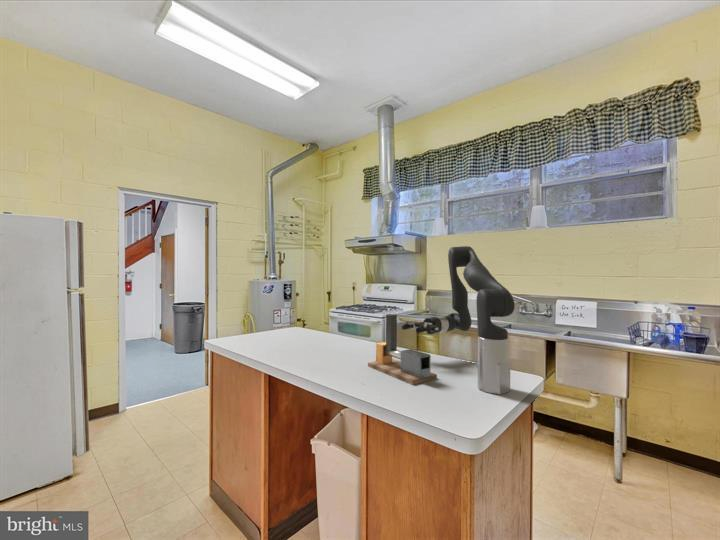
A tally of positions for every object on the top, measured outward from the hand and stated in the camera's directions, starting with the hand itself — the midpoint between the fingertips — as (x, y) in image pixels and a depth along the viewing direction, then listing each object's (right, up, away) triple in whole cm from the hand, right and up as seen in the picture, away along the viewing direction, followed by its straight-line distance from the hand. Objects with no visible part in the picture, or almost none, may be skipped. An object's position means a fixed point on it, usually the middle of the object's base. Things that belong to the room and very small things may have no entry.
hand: (409, 328), depth 135 cm
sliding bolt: (-6, -10, -8) cm, 14 cm away
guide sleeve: (0, -13, -17) cm, 21 cm away
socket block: (-11, -13, -2) cm, 17 cm away
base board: (-5, -15, -10) cm, 19 cm away
